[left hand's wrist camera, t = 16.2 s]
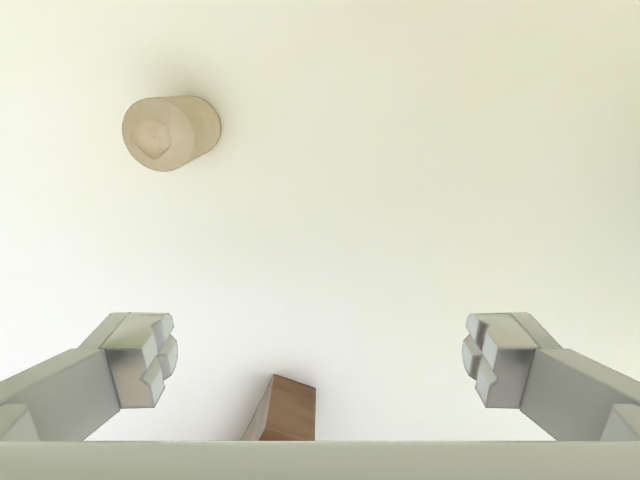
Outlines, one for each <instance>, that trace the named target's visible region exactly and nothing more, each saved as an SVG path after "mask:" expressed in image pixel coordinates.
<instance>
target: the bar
mask: <svg viewBox="0 0 640 480" xmlns="http://www.w3.org/2000/svg"><path fill="white" fill-rule="evenodd" d="M315 397H316V389H315V388H313V387H310V386H307V385H304V384H301V383H298V382H295V381H292V380H290V379H287V378H284V377H281V376H278V375H275V374H274V376H273V378H272V380H271V382H270V384H269V386H268V388H267V390H266V392H265V394H264V396H263V398H262V400H261V402H260V404H259V406H258V408H257V410H256V412H255V414H254V416H253V418H252V420H251V422H250V424H249V426H248V428H247V430H246V432H245V434H244V436H243V438H242V440H241V441H315Z"/></svg>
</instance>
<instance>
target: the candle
mask: <svg viewBox="0 0 640 480" xmlns="http://www.w3.org/2000/svg"><path fill="white" fill-rule="evenodd" d="M220 132H221V126H220V120H219V118H218V115H217V113H216V112H215V110H214V109H213V108H212V106H210V105H209V104H208V103H207V102H206V101H204V100H202V99H200V98H197V97H193V96H175V97H155V98H145V99H142V100H139V101H137V102H136V103H134V104H133V105H132V106H131V107H130V108H129V109H128V110H127V112H126V114H125V116H124V119H123V123H122V134H123V139H124V142H125V145H126V147H127V149H128V150H129V152H130V153H131V155H132V156H133V157H134V158H135V159H136V160H137V161H138V162H139V163H141V164H142V165H143V166H145V167H147V168H149V169H152V170H156V171H162V172H167V171H172V170H176V169H178V168H180V167H182V166H183V165H185V164H187V163H189V162H191V161H192V160H194V159H196V158H198V157H200V156H201V155H203V154H205V153H207V152H208V151H210V150H211V149H212V148H213V147H214V146H215V145H216V143H217V142H218V139H219V137H220Z"/></svg>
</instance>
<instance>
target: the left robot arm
mask: <svg viewBox="0 0 640 480" xmlns="http://www.w3.org/2000/svg"><path fill="white" fill-rule="evenodd" d="M173 328H174V323H173V319H172V316H171V315H170V314H169V313H138V312H133V313H131V312H115V313H111V314H109V315H108V316H107V318H106V319H105V320H104V321H103V322H102V323H101V324H100V325H99V326H98V327H97V328H96V329H95V330H94V331H93V332H92V333H91V334H90V335H89V337H88V338H87V339H86V340H85V341H84V342H83V343H82V344H81V345H80V346H79V347H78V348H77V349H69V350H67V351H65V352H63V353H61V354H59V355H57V356H54V357H52V358H50V359H48V360H46V361H44V362H42V363H40V364H37V365H35V366H33V367H31V368H29V369H27V370H25V371H23V372H20V373H18V374H16V375H14V376H12V377H10V378H8V379H6V380H3V381H1V382H0V480H640V382H639V381H636V380H634V379H632V378H630V377H628V376H626V375H624V374H622V373H619V372H617V371H615V370H613V369H611V368H609V367H607V366H605V365H602V364H600V363H598V362H596V361H594V360H592V359H590V358H588V357H586V356H583V355H581V354H579V353H577V352H575V351H573V350H571V349H563V348H562V347H561V346H560V345H559V344H558V343H557V342H556V341H555V340H554V339H553V338H552V336H551V335H550V334H549V333H548V332H547V331H546V330H545V329H544V328H543V327H542V326H541V325H540V324H539V323H538V322H537V321H536V320H535V319H534V317H533V316H532V315H531V314H529V313H527V312H512V313H480V314H469V316H468V318H467V323H466V328H467V330H468V331H469V333H470V334H469V335H468V336H467V337H466V338H465V339H464V340H463V347H462V356H463V363H464V366H465V369H466V371H467V373H468V375H469V376H470V377H472V378H473V379H475V380H476V386H475V389H476V391H477V392H478V394H479V396H480V398H481V400H482V402H483V404H484V406H485V408H514V409H520V411H521V412H522V413H524V414H525V415H526V416H527V417H529V418H530V419H531V420H532V421H534V422H535V423H536V424H537V425H538V426H540V427H541V428H542V429H543V430H545V431H546V432H547V433H548V434H550V435H551V436H552V437H553V438H554V439H556V440H557V441H83V440H84V439H86V438H87V437H88V436H89V435H91V434H92V433H93V432H94V431H96V430H97V429H98V428H99V427H100V426H102V425H103V424H104V423H105V422H107V421H108V420H109V419H110V418H112V417H113V416H114V415H115V414H116V413H118V412H119V411H120V409H126V408H155V406H156V404H157V402H158V400H159V398H160V396H161V394H162V392H163V391H164V389H165V386H164V380H165V379H167V378H168V377H170V376H171V375H172V373H173V371H174V369H175V367H176V362H177V358H178V346H177V340H176V339H175V338H174V337H173V336H172V335H171V334H170V333H171V331H172V330H173Z"/></svg>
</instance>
